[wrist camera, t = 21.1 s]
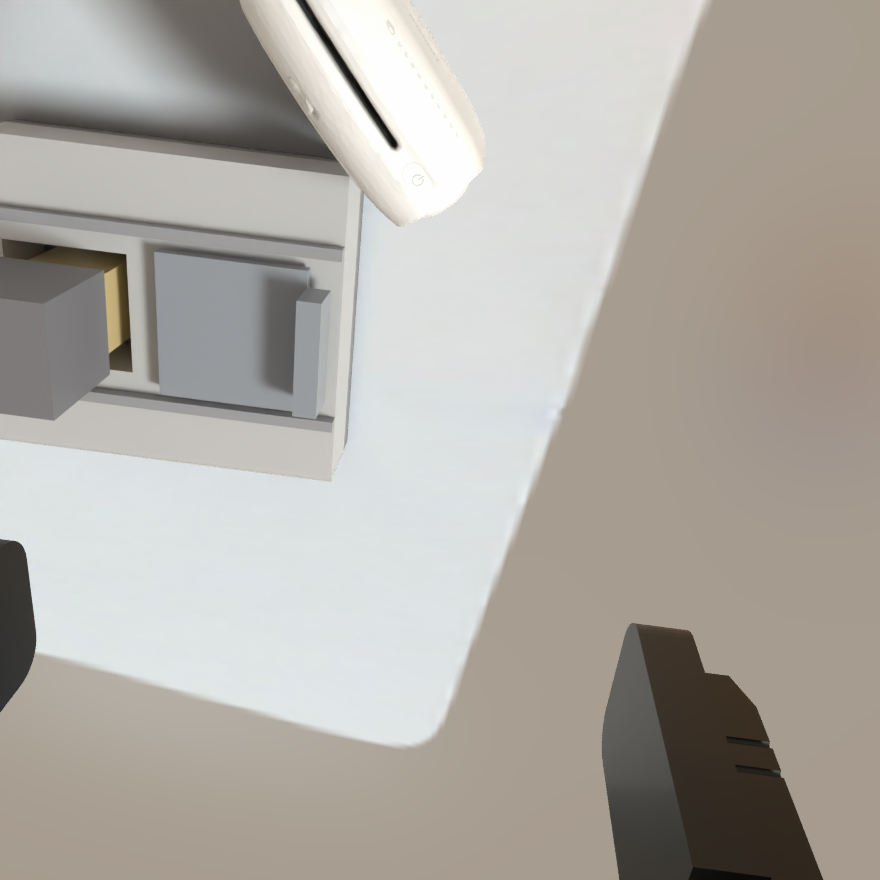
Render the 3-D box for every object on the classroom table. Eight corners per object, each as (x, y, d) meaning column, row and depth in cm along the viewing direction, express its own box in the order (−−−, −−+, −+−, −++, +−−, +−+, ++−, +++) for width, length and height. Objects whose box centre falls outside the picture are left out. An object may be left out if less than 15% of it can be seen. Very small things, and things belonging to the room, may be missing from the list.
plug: (52, 231, 39) (-84, 287, 30) (150, 244, 39) (43, 303, 30) (60, 325, 41) (-65, 404, 32) (153, 338, 41) (54, 420, 32)
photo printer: (501, 145, 37) (501, 187, 26) (421, 199, 38) (387, 262, 27) (366, -81, 33) (299, -146, 22) (283, -14, 35) (179, -44, 24)
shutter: (159, 248, 35) (134, 263, 32) (334, 270, 35) (322, 286, 32) (164, 389, 38) (142, 412, 35) (326, 410, 37) (315, 434, 35)
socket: (15, 119, 38) (-52, 129, 33) (365, 162, 37) (346, 178, 33) (45, 402, 44) (-9, 444, 39) (346, 441, 43) (328, 487, 39)
